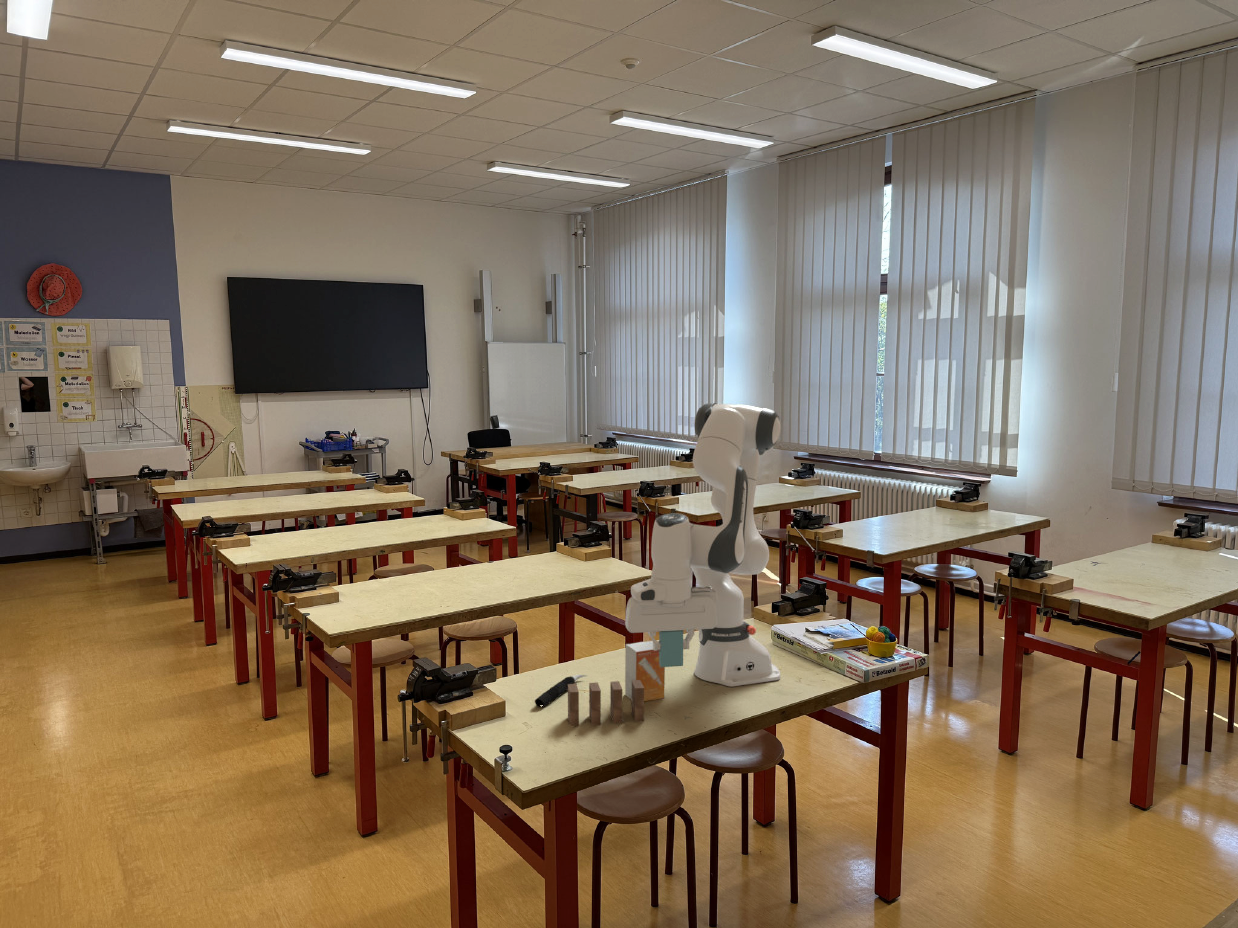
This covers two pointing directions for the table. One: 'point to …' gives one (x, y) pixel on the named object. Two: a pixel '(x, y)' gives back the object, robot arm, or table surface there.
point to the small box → (644, 670)
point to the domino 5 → (671, 648)
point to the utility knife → (556, 690)
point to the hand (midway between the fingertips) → (671, 649)
